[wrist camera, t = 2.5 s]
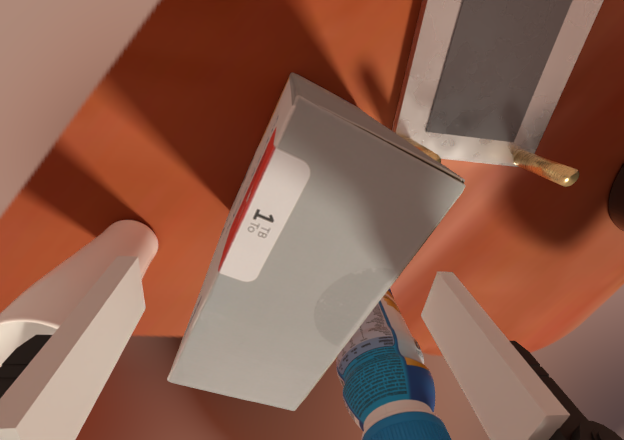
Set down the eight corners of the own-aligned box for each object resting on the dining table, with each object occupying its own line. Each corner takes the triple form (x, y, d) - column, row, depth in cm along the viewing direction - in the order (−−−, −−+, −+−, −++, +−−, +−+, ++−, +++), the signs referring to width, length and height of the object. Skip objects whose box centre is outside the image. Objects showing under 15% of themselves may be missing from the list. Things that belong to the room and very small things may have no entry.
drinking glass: (105, 201, 31) (-26, 305, 18) (174, 224, 33) (100, 333, 20) (95, 254, 34) (-26, 378, 21) (159, 272, 36) (86, 398, 22)
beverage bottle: (334, 261, 37) (383, 444, 19) (399, 272, 39) (498, 451, 21) (316, 313, 40) (343, 509, 23) (376, 321, 42) (444, 511, 24)
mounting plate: (642, -115, 24) (776, -181, 17) (520, 164, 33) (576, 188, 27) (460, -162, 22) (535, -256, 15) (386, 149, 31) (413, 172, 25)
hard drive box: (289, 68, 27) (302, 81, 10) (362, 109, 29) (484, 182, 12) (226, 213, 33) (163, 387, 15) (291, 238, 35) (301, 418, 17)
